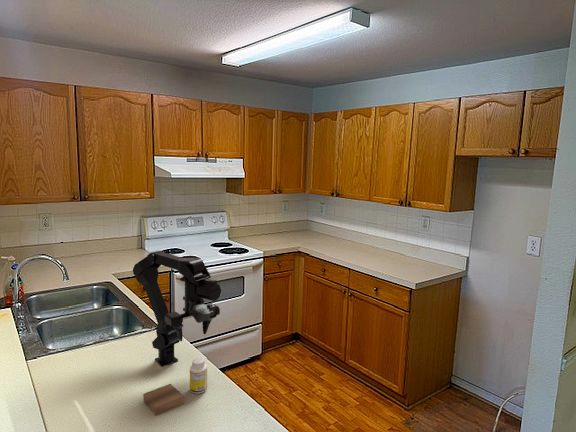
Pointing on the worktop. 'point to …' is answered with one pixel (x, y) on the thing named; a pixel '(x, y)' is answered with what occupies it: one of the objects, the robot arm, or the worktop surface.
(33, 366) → the worktop surface
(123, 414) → the worktop surface
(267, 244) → the worktop surface
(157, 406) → the walnut block
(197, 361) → the supplement bottle
